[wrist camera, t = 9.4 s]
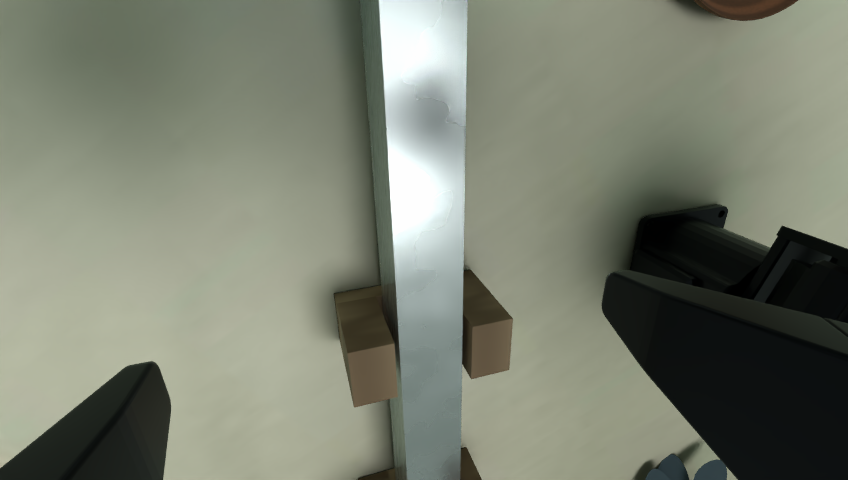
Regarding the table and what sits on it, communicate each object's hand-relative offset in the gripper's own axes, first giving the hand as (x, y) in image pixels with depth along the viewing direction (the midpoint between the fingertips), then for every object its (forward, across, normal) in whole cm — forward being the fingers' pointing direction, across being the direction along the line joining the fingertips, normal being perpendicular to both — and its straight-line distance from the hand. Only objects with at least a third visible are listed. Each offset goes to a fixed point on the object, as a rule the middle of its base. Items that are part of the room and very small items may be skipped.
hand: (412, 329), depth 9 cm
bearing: (+13, -3, +8) cm, 16 cm away
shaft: (+12, -3, +9) cm, 15 cm away
